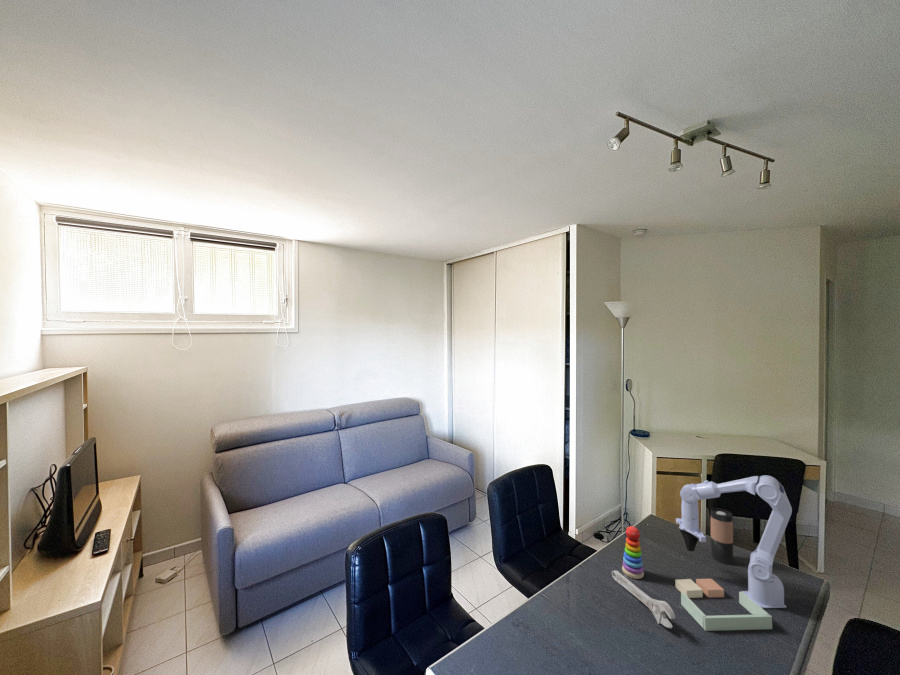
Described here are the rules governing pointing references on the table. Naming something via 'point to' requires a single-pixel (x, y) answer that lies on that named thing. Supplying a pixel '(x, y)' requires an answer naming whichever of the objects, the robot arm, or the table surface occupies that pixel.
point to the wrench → (647, 600)
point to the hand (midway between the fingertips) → (690, 550)
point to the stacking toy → (633, 554)
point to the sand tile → (689, 588)
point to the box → (731, 616)
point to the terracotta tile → (710, 588)
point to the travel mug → (722, 535)
